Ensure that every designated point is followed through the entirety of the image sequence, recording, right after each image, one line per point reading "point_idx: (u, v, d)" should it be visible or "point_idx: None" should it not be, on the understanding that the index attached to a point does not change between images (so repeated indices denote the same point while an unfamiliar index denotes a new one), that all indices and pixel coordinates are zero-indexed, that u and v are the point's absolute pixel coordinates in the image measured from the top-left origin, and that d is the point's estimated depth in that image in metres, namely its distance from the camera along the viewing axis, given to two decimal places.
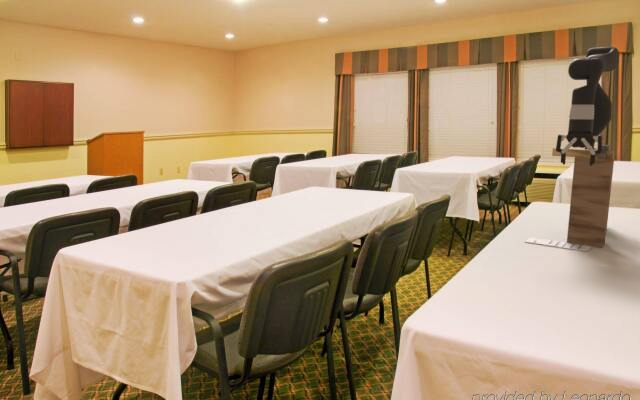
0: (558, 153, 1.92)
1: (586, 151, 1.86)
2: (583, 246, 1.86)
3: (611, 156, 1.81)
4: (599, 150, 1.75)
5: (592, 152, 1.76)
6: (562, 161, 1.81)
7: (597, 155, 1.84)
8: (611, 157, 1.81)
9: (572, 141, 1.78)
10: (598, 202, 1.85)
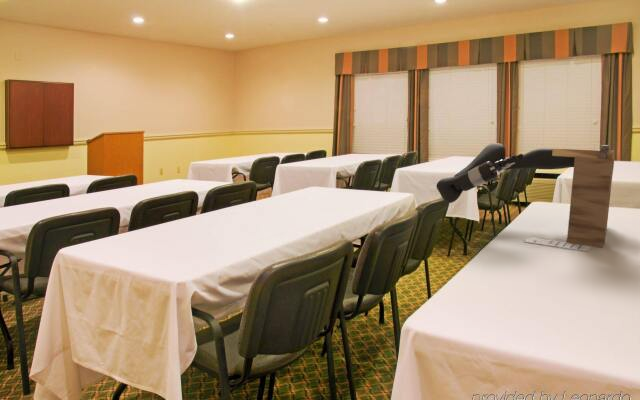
0: (558, 153, 1.92)
1: (586, 151, 1.86)
2: (583, 246, 1.86)
3: (611, 156, 1.81)
4: None
5: None
6: (513, 156, 1.95)
7: (597, 155, 1.84)
8: (611, 157, 1.81)
9: (497, 161, 2.01)
10: (598, 202, 1.85)
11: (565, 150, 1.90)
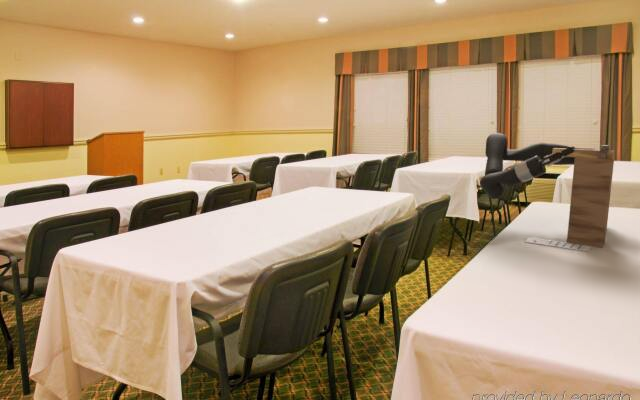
0: None
1: (586, 151, 1.86)
2: (583, 246, 1.86)
3: (611, 156, 1.81)
4: None
5: None
6: (569, 148, 1.89)
7: (597, 155, 1.84)
8: (611, 157, 1.81)
9: (547, 155, 1.94)
10: (598, 202, 1.85)
11: None
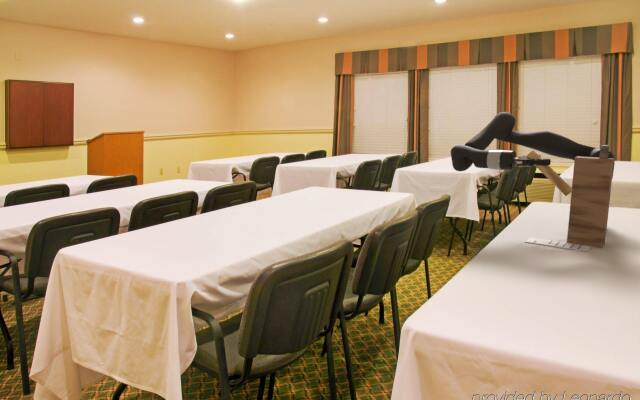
0: (532, 158, 1.89)
1: (553, 174, 1.86)
2: (583, 246, 1.86)
3: (566, 193, 1.84)
4: None
5: None
6: (544, 160, 1.86)
7: (558, 184, 1.85)
8: (566, 194, 1.84)
9: (522, 156, 1.91)
10: (598, 202, 1.85)
11: None
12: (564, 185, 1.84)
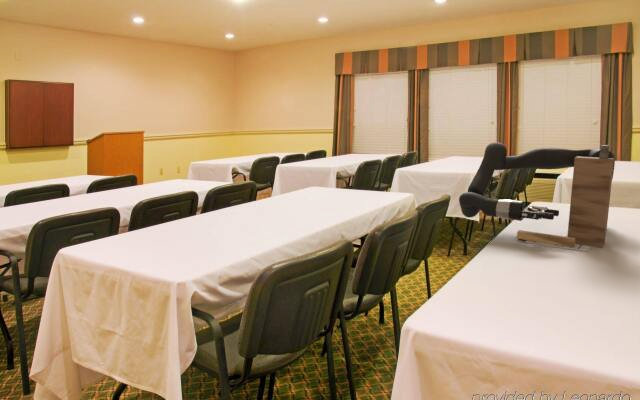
0: (522, 236, 1.95)
1: (549, 237, 1.89)
2: (583, 246, 1.86)
3: (572, 244, 1.85)
4: (545, 207, 1.96)
5: (545, 208, 1.94)
6: (550, 214, 1.85)
7: (559, 242, 1.87)
8: (572, 245, 1.85)
9: (531, 208, 1.91)
10: (598, 202, 1.85)
11: (529, 234, 1.93)
12: (564, 239, 1.86)
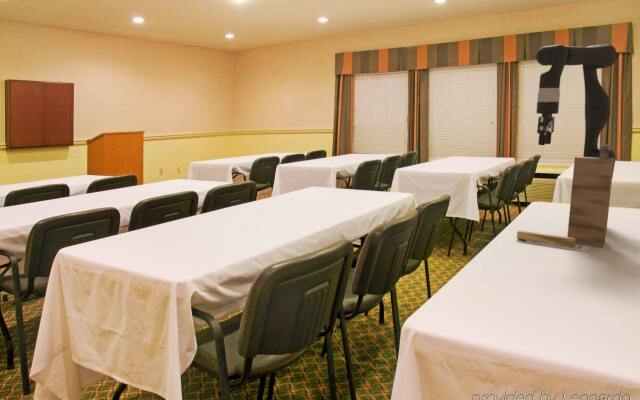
0: (522, 236, 1.95)
1: (549, 237, 1.89)
2: (583, 246, 1.86)
3: (572, 244, 1.85)
4: (553, 129, 1.97)
5: (552, 131, 1.96)
6: (543, 142, 1.90)
7: (559, 242, 1.87)
8: (572, 245, 1.85)
9: (550, 122, 1.90)
10: (598, 202, 1.85)
11: (529, 234, 1.93)
12: (564, 239, 1.86)
